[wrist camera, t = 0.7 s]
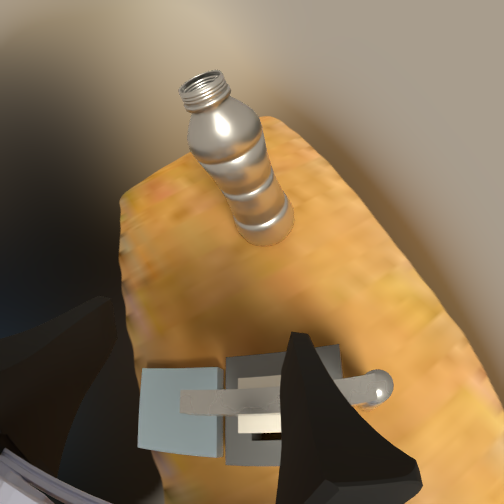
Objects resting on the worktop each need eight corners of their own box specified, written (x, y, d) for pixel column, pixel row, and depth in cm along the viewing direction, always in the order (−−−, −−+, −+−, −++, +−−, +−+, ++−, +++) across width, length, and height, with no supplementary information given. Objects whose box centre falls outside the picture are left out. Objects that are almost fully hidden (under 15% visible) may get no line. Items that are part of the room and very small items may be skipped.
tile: (223, 456, 24) (216, 457, 23) (146, 447, 26) (137, 447, 25) (223, 369, 29) (217, 366, 28) (150, 371, 31) (142, 368, 30)
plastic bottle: (309, 231, 35) (256, 68, 19) (260, 264, 34) (172, 114, 18) (279, 200, 39) (221, 57, 23) (235, 229, 38) (154, 94, 22)
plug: (313, 429, 23) (297, 431, 17) (269, 432, 24) (238, 433, 18) (310, 387, 25) (294, 373, 19) (268, 391, 26) (237, 378, 20)
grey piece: (377, 387, 23) (391, 366, 15) (380, 409, 22) (395, 400, 14) (236, 403, 26) (180, 386, 18) (236, 422, 25) (179, 415, 17)
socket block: (348, 457, 21) (348, 460, 18) (238, 462, 23) (225, 465, 21) (340, 352, 26) (338, 343, 24) (237, 364, 29) (226, 357, 26)
